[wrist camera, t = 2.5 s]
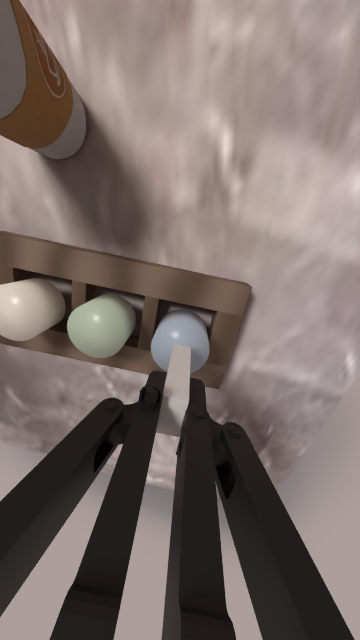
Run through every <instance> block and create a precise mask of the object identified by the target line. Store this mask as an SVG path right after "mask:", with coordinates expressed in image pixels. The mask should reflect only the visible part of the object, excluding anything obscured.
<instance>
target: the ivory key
mask: <svg viewBox="0 0 360 640" xmlns="http://www.w3.org/2000/svg"><path fill="white" fill-rule="evenodd" d="M65 310H66V305H65V301H64V298H63V296H62V294H61V293H60V291H59V290H58V289H57V288H56V287H55V286H54V285H53V284H51V283H50V282H48V281H46V280H43V279H39V278H32V279H27V280H22V281H17V282H12V283H7V284H2V285H0V335H2V336H3V337H5V338H8V339H10V340H14V341H26V340H29V339H31V338H33V337H35V336H36V335H38V334H40V333H42V332H43V331H45V330H47V329H49V328H51V327H52V326H54V325H56V324H57V323H59V322H60V321H61V320H62V319H63V317H64V315H65Z"/></svg>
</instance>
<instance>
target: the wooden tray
mask: <svg viewBox="0 0 360 640" xmlns="http://www.w3.org/2000/svg"><path fill="white" fill-rule="evenodd" d="M30 271H32V272H36V273H41V274H46V275H50V276H55V277H60V278H65V279H69V280H72V312H73V311H74V310H75V309H76V308H77V307H79V306H81V305H83V304H85V303H87V302H89V301H90V300H92V299H94V298H95V291H96V285H97V286H102V287H107V288H111V289H116V290H121V291H126V292H130V293H135V294H140V295H144V296H145V301H144V307H143V314H142V321H141V328H140V335H139V339H138V338H133V337H129V338H128V339H127V341H126V342H125V344H124V345H123V346H122V348H121V349H120V350H119V351H118V352H117V353H116V354H114V355H112V356H110V357H106V358H95V357H91V356H88V355H86V354H84V353H83V352H81V351H80V350H79V349H77V348H76V347H75V345H74V344H73V343H72V341H71V339H70V337H69V335H68V330H67V323H62V322H59V323H57V324H56V325H54V326H52V327H51V328H49V329H47V330H45V331H43V332H42V333H40V334H38V335H36V336H35V337H33V338H31V339H29V340H26V341H14V340H10V339H8V338H5V337H3V336H2V335H0V343H1V344H6V345H11V346H16V347H20V348H25V349H30V350H35V351H39V352H44V353H49V354H54V355H59V356H63V357H68V358H73V359H78V360H82V361H87V362H92V363H97V364H101V365H106V366H111V367H116V368H120V369H125V370H130V371H135V372H140V373H144V374H150V373H151V372H152V371H154V370H156V371H160V372H165V373H167V371H165V370H163V369H162V368H160V367H159V366H158V365H157V363H156V362H155V361H154V359H153V357H152V353H151V342H152V339H153V337H154V334H155V332H156V326H157V320H158V315H159V309H160V303H161V299H163V300H168V301H173V302H177V303H182V304H187V305H191V306H196V307H201V308H205V309H210V310H214V313H213V316H212V320H211V324H210V327H209V331H208V341H209V356H208V359H207V361H206V362H205V364H204V365H203V366H202V367H201V368H200V369H199V370H197V371H195V372H193V373H190V377H191V378H196V379H200V380H202V381H203V383H204V385H205V386H206V387H211V388H216V389H219V388H220V385H221V382H222V379H223V376H224V372H225V369H226V366H227V363H228V360H229V357H230V354H231V351H232V348H233V345H234V342H235V339H236V335H237V332H238V329H239V326H240V323H241V320H242V317H243V314H244V311H245V308H246V305H247V302H248V299H249V295H250V292H251V289H252V287H251V286H250V285H248V284H247V283H244V282H239V281H234V280H230V279H225V278H220V277H216V276H211V275H206V274H202V273H197V272H192V271H188V270H183V269H178V268H174V267H169V266H164V265H160V264H155V263H150V262H146V261H141V260H136V259H132V258H127V257H122V256H118V255H113V254H108V253H104V252H99V251H94V250H90V249H85V248H80V247H76V246H71V245H66V244H62V243H57V242H52V241H48V240H43V239H38V238H34V237H29V236H24V235H20V234H15V233H10V232H6V231H0V285H2V284H7V283H12V282H17V281H22V280H27V279H30ZM72 312H71V313H72Z"/></svg>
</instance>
